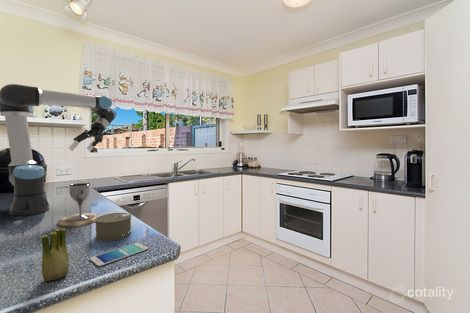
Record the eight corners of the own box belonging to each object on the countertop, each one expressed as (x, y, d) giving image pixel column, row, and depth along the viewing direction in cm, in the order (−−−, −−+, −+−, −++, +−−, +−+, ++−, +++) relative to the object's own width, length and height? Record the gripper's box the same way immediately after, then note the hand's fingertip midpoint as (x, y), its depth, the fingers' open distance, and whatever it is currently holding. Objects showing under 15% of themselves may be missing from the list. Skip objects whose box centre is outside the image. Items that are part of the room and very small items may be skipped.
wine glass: (68, 221, 99) (67, 186, 98) (71, 216, 106) (70, 183, 105) (90, 218, 102) (89, 185, 102) (91, 214, 109) (91, 182, 109)
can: (91, 235, 87) (90, 217, 87) (123, 227, 96) (123, 211, 95) (101, 244, 79) (101, 224, 78) (136, 234, 88) (136, 216, 87)
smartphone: (149, 248, 75) (98, 266, 63) (149, 250, 75) (98, 269, 63) (137, 242, 80) (88, 257, 68) (137, 244, 80) (88, 260, 68)
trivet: (75, 228, 94) (75, 225, 94) (48, 224, 99) (48, 221, 99) (109, 217, 109) (108, 214, 109) (84, 214, 114) (84, 211, 114)
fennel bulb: (43, 286, 55) (41, 236, 54) (39, 278, 58) (37, 231, 57) (72, 276, 59) (71, 230, 58) (67, 269, 62) (66, 225, 62)
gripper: (118, 130, 151) (100, 154, 137) (88, 130, 158) (67, 153, 144) (112, 121, 146) (92, 145, 132) (81, 121, 152) (59, 144, 139)
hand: (79, 149), depth 138 cm, fingers open, 13 cm apart
